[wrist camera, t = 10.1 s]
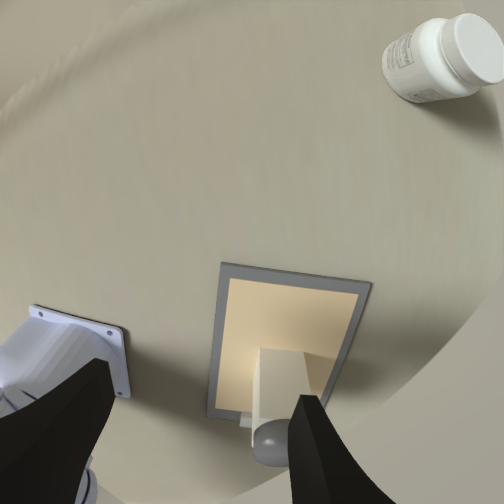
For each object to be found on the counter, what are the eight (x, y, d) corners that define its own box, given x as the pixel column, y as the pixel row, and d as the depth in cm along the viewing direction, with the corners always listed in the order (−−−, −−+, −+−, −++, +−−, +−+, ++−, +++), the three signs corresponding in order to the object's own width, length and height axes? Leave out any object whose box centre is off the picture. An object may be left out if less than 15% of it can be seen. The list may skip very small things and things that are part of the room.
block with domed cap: (251, 379, 22) (249, 465, 15) (258, 346, 21) (258, 436, 14) (294, 383, 23) (304, 467, 15) (304, 350, 21) (321, 438, 14)
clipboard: (206, 413, 25) (205, 423, 24) (221, 261, 20) (219, 269, 18) (314, 422, 25) (316, 432, 24) (369, 281, 20) (374, 289, 19)
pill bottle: (448, 84, 15) (526, 72, 8) (408, 115, 16) (486, 111, 9) (409, 30, 14) (476, -7, 7) (366, 59, 15) (427, 20, 8)
